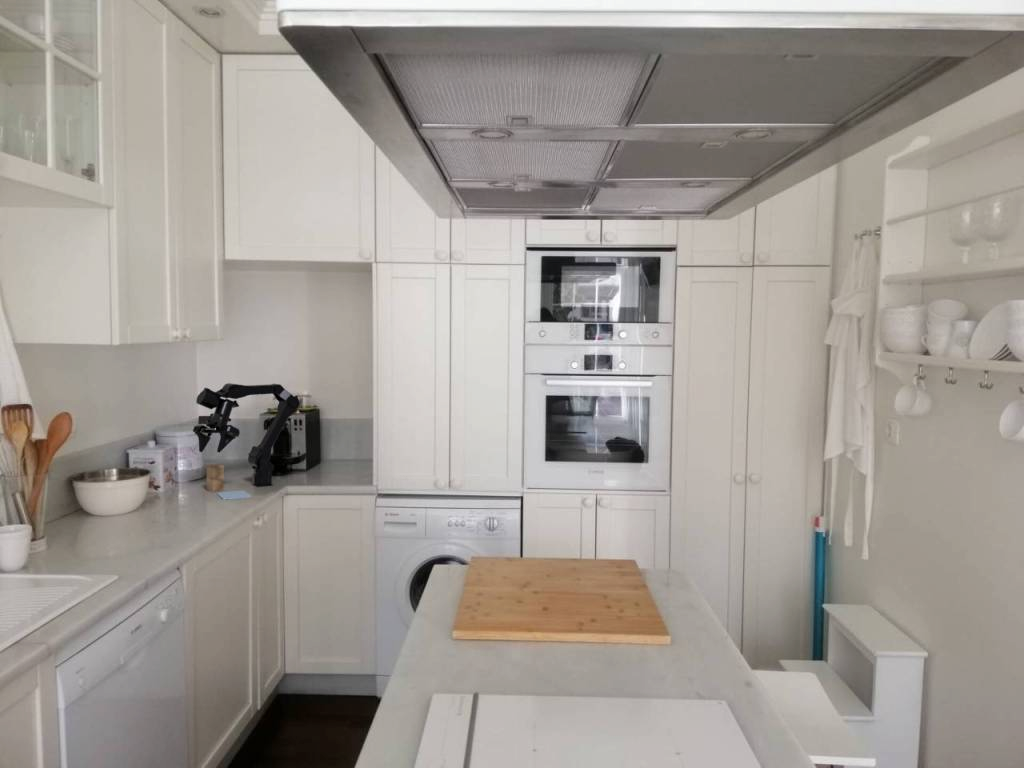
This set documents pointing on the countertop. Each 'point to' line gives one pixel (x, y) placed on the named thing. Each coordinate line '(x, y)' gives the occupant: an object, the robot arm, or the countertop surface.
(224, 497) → the light blue square tile
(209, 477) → the tan wooden block
